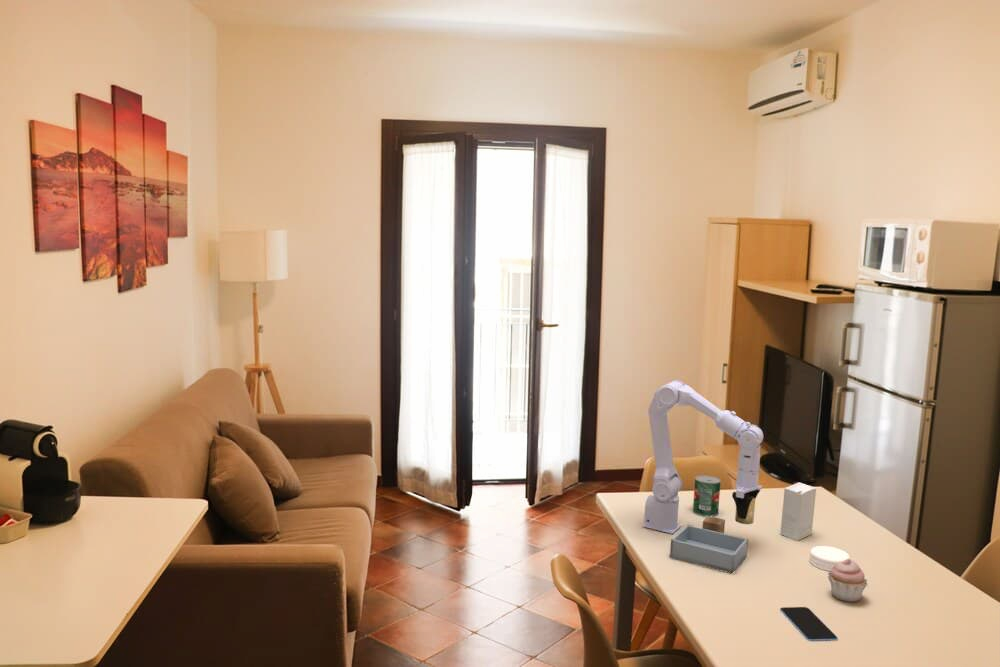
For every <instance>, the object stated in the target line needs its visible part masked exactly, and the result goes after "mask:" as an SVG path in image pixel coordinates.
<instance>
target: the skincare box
mask: <svg viewBox="0 0 1000 667" xmlns="http://www.w3.org/2000/svg"><path fill="white" fill-rule="evenodd" d="M816 495H817V487H815V486H812V485H807V484H806V483H802V482H799V481H798V482H796V483H793V484H792V485H789V486H786V487H785V488H784V493H783V503H782V512H781V513H782V514H781V523H780V535H781V536H783V535H784V537H787V538H789V539H792V540H794V541H796V542H797V541H799V540H802V539H804V538H806V537H808V536H811V535H812V534H813V523H814V514H815V505H816Z"/></svg>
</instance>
